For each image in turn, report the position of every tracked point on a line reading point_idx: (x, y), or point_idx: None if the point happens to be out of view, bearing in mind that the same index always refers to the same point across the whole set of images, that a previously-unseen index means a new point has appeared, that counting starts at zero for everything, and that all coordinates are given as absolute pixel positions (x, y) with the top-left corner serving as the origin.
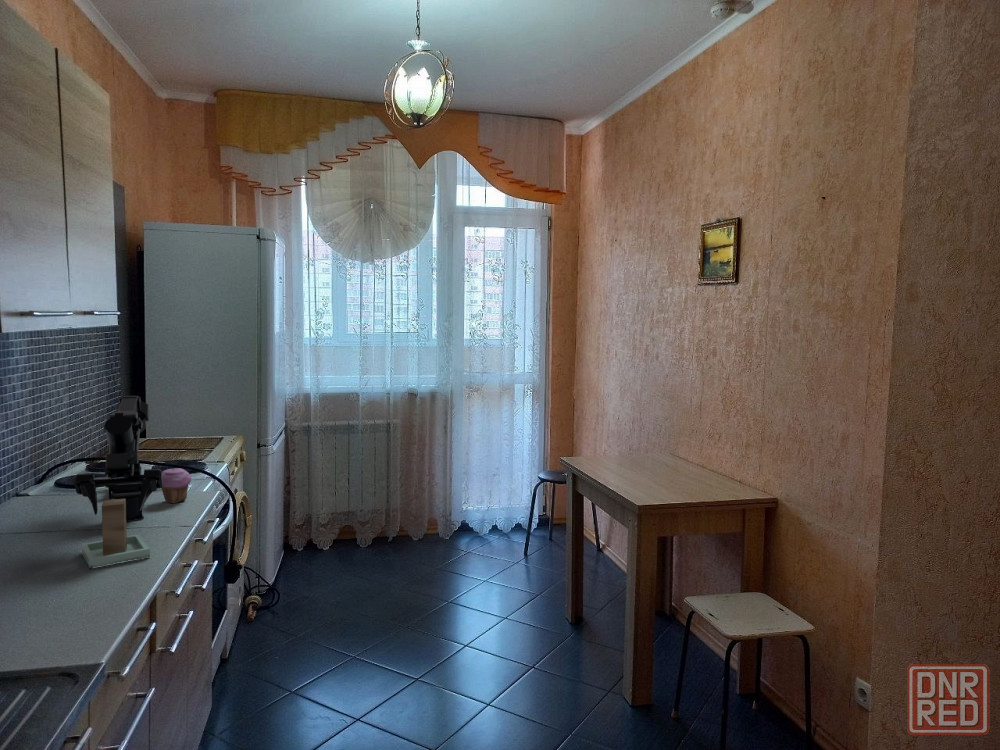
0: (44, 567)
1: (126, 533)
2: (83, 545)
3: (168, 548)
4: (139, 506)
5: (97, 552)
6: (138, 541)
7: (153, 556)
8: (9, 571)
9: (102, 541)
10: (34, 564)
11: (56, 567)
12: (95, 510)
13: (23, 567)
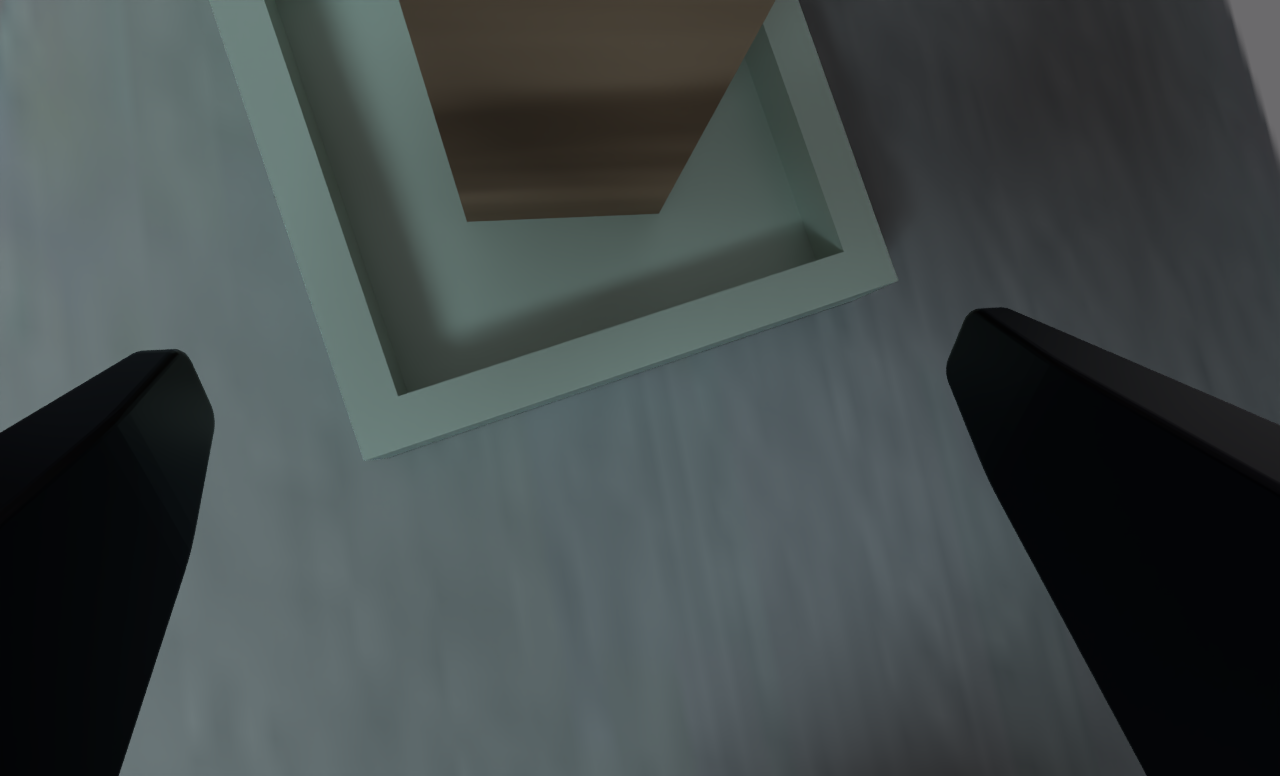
0: (1039, 46)
1: (448, 160)
2: (870, 231)
3: (52, 196)
4: (131, 371)
5: (717, 172)
6: (338, 216)
7: (191, 4)
8: (1237, 46)
9: (718, 302)
10: (1126, 140)
11: (956, 14)
12: (1013, 318)
13: (1177, 99)
